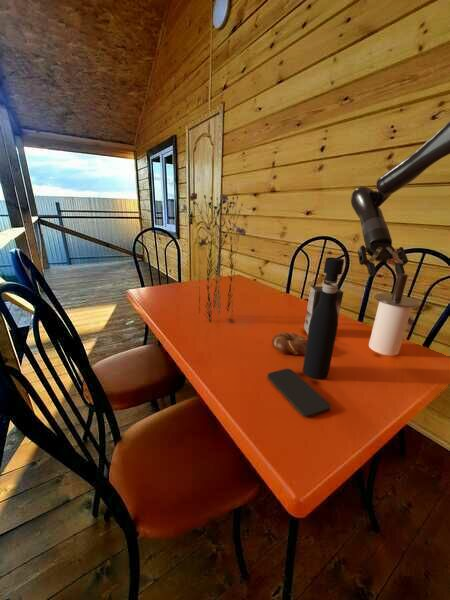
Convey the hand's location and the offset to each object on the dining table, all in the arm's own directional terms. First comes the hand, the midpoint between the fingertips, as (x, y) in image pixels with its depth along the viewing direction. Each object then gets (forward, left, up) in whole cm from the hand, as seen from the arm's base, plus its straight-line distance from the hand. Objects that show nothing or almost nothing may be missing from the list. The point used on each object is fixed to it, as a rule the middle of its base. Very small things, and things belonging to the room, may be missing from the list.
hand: (387, 275), depth 79 cm
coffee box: (+17, -1, -22) cm, 28 cm away
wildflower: (+55, -6, -22) cm, 60 cm away
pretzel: (+28, +12, -22) cm, 38 cm away
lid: (-1, +7, -6) cm, 9 cm away
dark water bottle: (+23, +24, -22) cm, 40 cm away
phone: (+29, +33, -22) cm, 49 cm away
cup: (-1, +7, -22) cm, 23 cm away
